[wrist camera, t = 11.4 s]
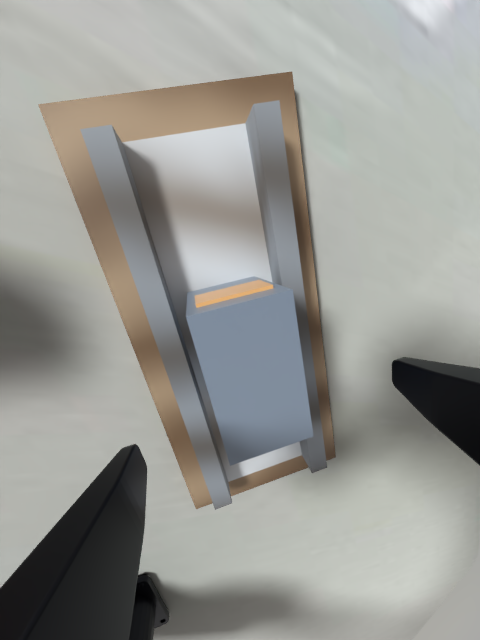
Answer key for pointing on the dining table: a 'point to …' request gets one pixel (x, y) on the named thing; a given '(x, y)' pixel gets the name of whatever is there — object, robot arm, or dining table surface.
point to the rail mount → (198, 244)
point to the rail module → (251, 364)
